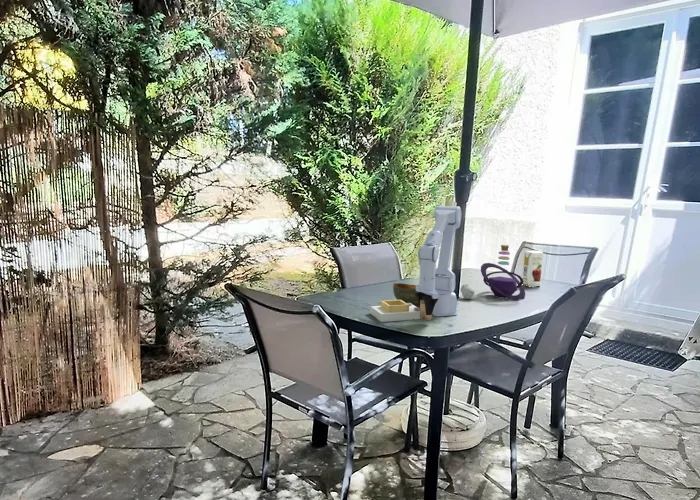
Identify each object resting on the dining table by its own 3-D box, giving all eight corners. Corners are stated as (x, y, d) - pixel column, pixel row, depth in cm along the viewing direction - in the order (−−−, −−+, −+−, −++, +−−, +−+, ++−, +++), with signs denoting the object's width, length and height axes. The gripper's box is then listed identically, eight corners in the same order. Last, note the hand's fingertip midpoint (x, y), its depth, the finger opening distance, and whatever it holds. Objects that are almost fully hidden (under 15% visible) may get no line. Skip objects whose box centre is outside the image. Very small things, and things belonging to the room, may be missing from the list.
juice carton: (519, 285, 245) (522, 250, 242) (533, 284, 247) (535, 250, 245) (529, 288, 238) (531, 252, 235) (542, 287, 240) (545, 252, 238)
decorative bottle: (508, 304, 202) (512, 249, 199) (469, 295, 218) (472, 244, 215) (534, 297, 216) (538, 246, 213) (495, 289, 232) (498, 241, 229)
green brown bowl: (416, 311, 187) (417, 287, 186) (389, 301, 204) (390, 279, 203) (440, 308, 193) (441, 285, 192) (413, 298, 211) (413, 277, 209)
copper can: (428, 316, 172) (428, 298, 171) (433, 319, 168) (434, 301, 167) (417, 316, 171) (418, 298, 170) (423, 320, 167) (423, 301, 166)
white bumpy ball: (466, 296, 216) (467, 282, 215) (477, 299, 210) (478, 285, 209) (457, 297, 213) (457, 283, 212) (467, 301, 207) (468, 286, 206)
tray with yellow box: (410, 310, 189) (411, 297, 188) (424, 318, 177) (424, 305, 176) (370, 313, 183) (370, 300, 182) (381, 321, 172) (381, 307, 171)
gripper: (409, 274, 173) (407, 308, 175) (426, 281, 159) (425, 319, 161) (425, 273, 175) (424, 307, 177) (444, 281, 161) (442, 317, 163)
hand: (425, 313), depth 169 cm, fingers closed on copper can, 4 cm apart
